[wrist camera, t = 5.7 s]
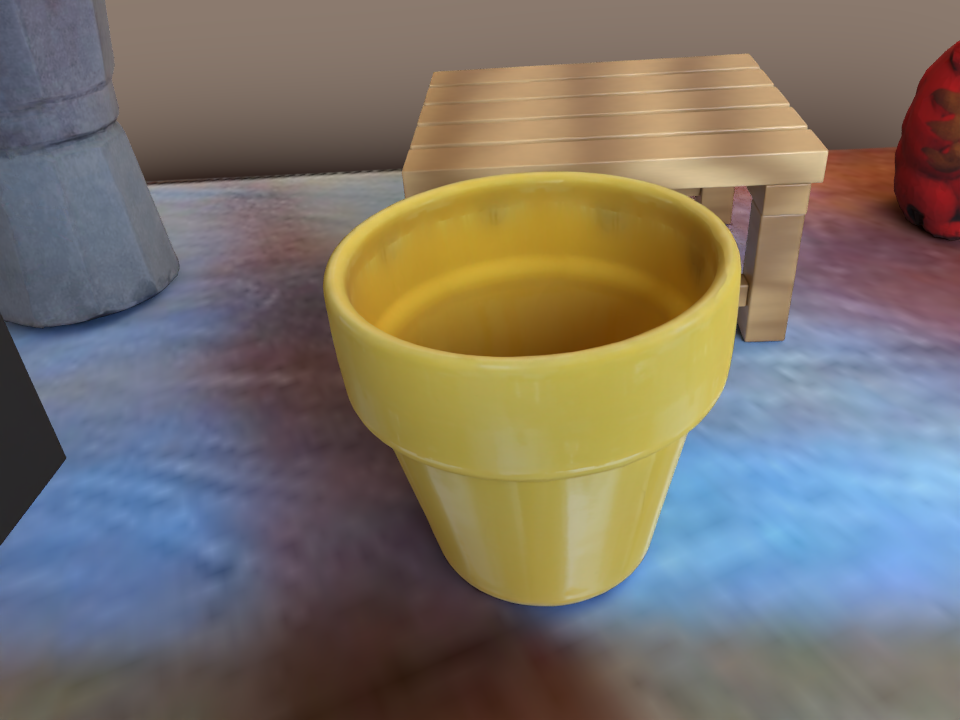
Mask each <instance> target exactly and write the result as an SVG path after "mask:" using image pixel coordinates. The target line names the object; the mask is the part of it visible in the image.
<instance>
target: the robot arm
mask: <svg viewBox="0 0 960 720" xmlns="http://www.w3.org/2000/svg"><path fill="white" fill-rule="evenodd" d="M65 460H66V456H65V454H64V451H63V449H62V447H61V445H60V443H59V440H58V438H57V436H56V434H55V432H54V429H53V427H52V425H51V423H50V421H49V418H48V416H47V414H46V412H45V410H44V407H43V405H42V403H41V401H40V399H39V396H38V394H37V392H36V390H35V388H34V385H33V383H32V381H31V379H30V377H29V374H28V372H27V370H26V368H25V366H24V363H23V361H22V359H21V357H20V355H19V352H18V350H17V348H16V346H15V344H14V341H13V339H12V337H11V335H10V333H9V331H8V328H7V326H6V324H5V322H4V320H3V317H2V315H1V313H0V545H1V544H2V543H3V542H4V540H5V539H6V538H7V536H8V535H9V534H10V532H11V531H12V530H13V528H14V527H15V526H16V524H17V523H18V522H19V520H20V519H21V518H22V516H23V515H24V514H25V512H26V511H27V510H28V509H29V507H30V506H31V505H32V503H33V502H34V501H35V499H36V498H37V497H38V495H39V494H40V493H41V491H42V490H43V489H44V487H45V486H46V485H47V483H48V482H49V481H50V479H51V478H52V477H53V476H54V474H55V473H56V472H57V470H58V469H59V468H60V466H61V465H62V464H63V462H64V461H65Z"/></svg>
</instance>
